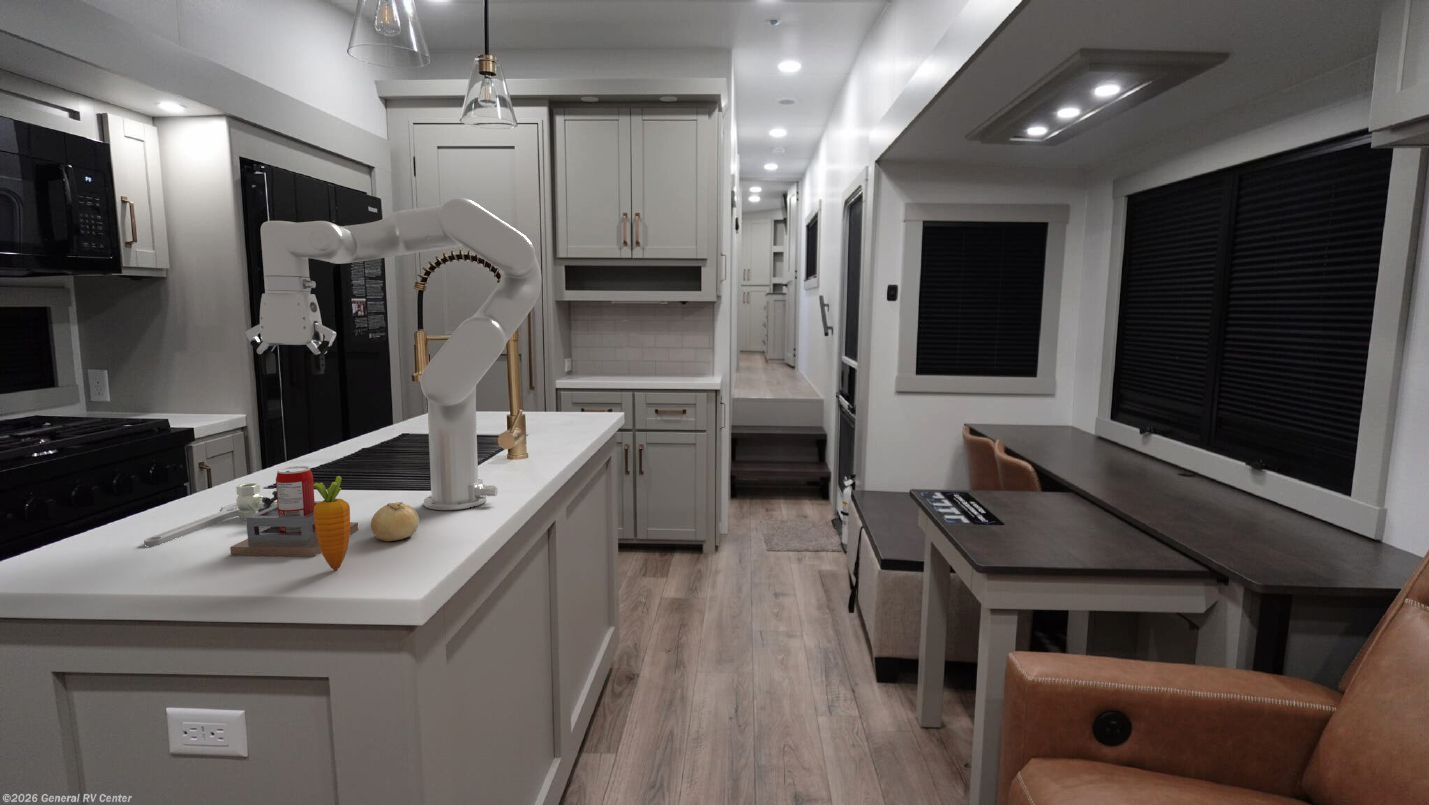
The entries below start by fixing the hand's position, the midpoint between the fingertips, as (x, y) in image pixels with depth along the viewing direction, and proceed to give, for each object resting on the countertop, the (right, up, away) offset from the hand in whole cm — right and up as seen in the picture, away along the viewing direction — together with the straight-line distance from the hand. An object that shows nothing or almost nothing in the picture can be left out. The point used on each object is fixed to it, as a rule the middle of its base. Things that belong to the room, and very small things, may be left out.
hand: (293, 374), depth 135 cm
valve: (-5, -29, -1) cm, 30 cm away
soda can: (+10, -29, -14) cm, 34 cm away
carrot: (+24, -32, -27) cm, 48 cm away
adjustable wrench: (-14, -30, -4) cm, 33 cm away
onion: (+26, -31, -11) cm, 41 cm away
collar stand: (+10, -30, -14) cm, 35 cm away
